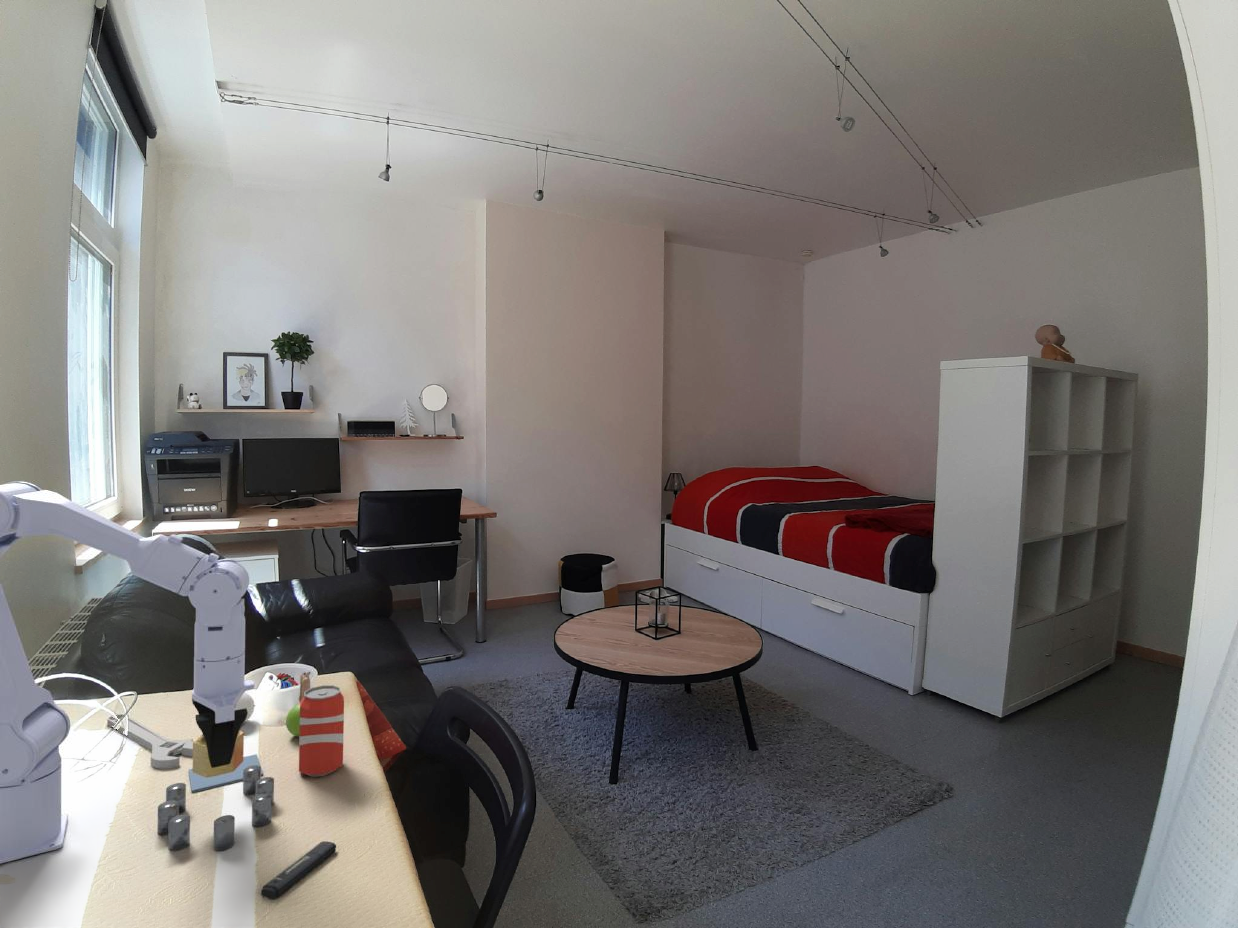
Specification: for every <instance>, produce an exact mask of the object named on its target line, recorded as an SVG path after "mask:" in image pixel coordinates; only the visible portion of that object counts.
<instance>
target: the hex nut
mask: <svg viewBox="0 0 1238 928" xmlns="http://www.w3.org/2000/svg"><path fill="white" fill-rule="evenodd" d="M244 740H245V735H244V731H242V730H239V733H238V736H237V739H236V743H235V747H234V752H233V756H232V759H231V762H230V764H228V765H223V766H219V767H214V768H212V767H211V764H210V761H209V756H208V751H207V744H206V740H205V737H204V735H203V733H202V734H201V735H200V736H198V737H197V738H195V740H193V741H194V742H193V757H192V769H193V773H195V774H198V775H201V776H203V777H206V778H209V777H213V776H218V775H222V774H226V773H230V772H234V770H235V769H236V768H237V767H238V766H239V765H240V764H241V763H242V762H243V757H244V750H245V749H244V746H245V745H244Z"/></svg>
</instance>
